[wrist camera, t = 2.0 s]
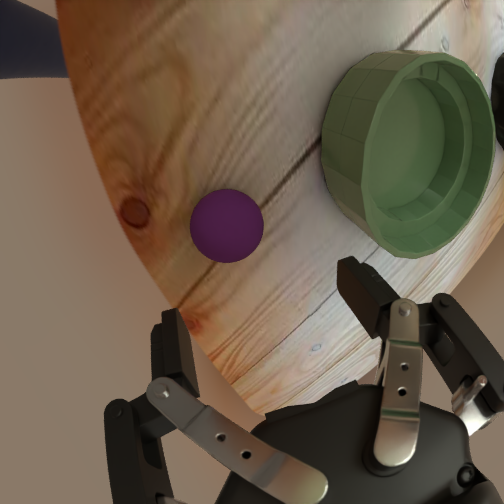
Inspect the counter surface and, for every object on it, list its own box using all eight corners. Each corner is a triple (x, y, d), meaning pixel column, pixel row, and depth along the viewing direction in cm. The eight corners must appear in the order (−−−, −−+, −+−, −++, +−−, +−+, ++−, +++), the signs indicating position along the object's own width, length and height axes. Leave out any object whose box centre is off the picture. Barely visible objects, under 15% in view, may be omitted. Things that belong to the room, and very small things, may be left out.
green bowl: (275, 120, 19) (313, 135, 14) (415, 25, 16) (466, 25, 11) (367, 255, 28) (400, 290, 24) (464, 162, 25) (501, 182, 21)
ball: (173, 212, 21) (176, 247, 17) (223, 165, 20) (239, 189, 16) (218, 250, 23) (230, 290, 19) (265, 210, 23) (288, 242, 18)
